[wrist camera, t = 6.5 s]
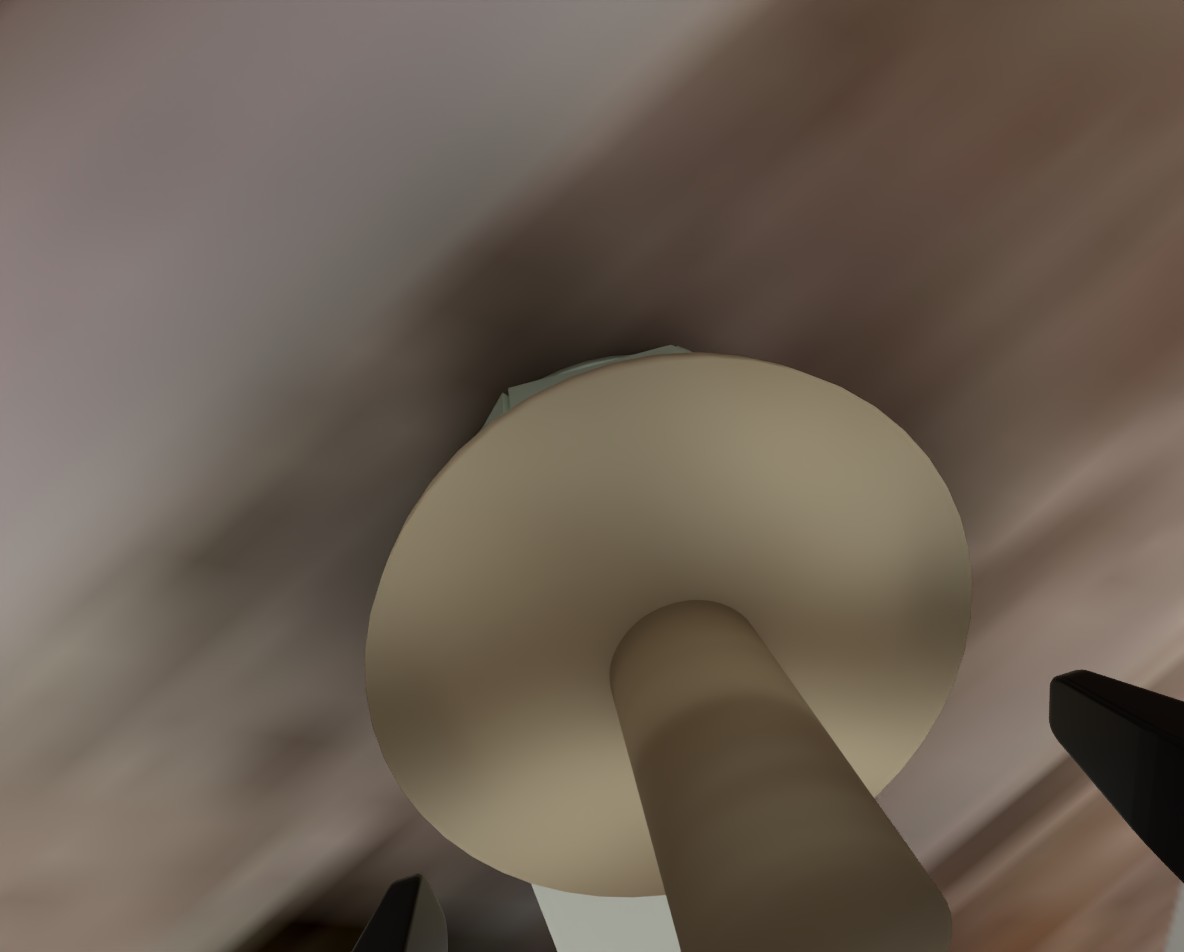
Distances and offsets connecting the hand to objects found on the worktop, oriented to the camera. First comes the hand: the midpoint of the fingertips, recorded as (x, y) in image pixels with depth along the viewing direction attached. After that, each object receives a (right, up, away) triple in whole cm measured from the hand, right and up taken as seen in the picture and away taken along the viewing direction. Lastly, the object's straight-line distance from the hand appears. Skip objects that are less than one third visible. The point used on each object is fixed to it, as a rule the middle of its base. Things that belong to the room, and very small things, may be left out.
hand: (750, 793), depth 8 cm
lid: (-1, +1, +3) cm, 4 cm away
